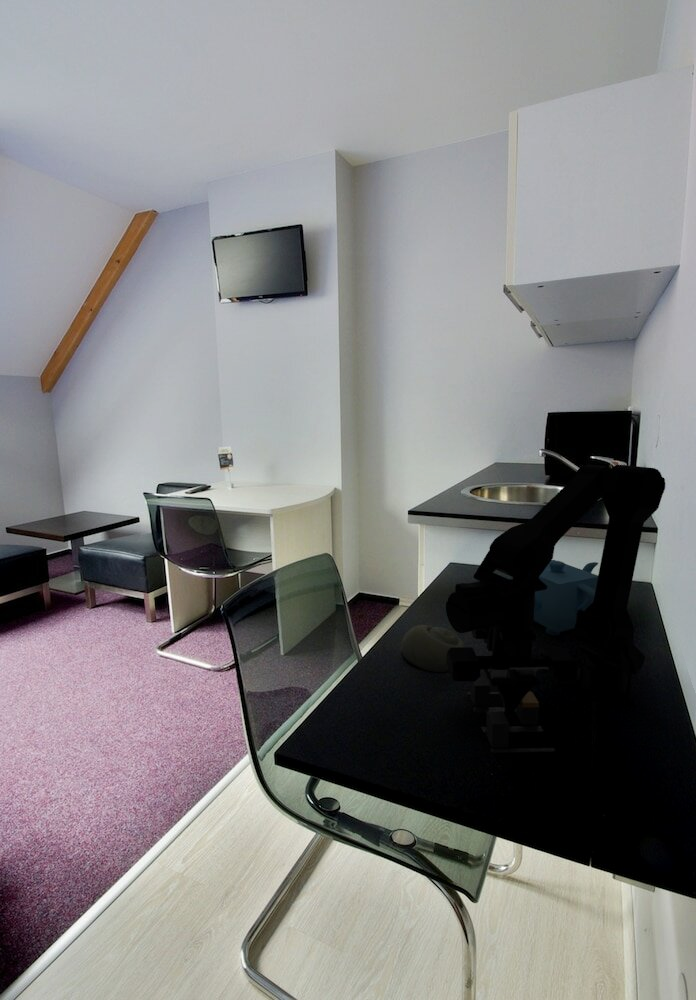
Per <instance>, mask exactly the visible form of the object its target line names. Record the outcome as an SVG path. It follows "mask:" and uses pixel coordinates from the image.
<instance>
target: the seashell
mask: <svg viewBox="0 0 696 1000" xmlns="http://www.w3.org/2000/svg"><path fill="white" fill-rule="evenodd" d="M400 644H401V645H400V648H401V654H402V656H403V657H404V658H405V660H406V661H408V662H409V663H410V664H412V665H413V666H415V667H417V668H419V669H422V670H425V671H429V672H433V673H447V672H450V671H449V668H448V666H447V663H446V658H447V651H448V650H449V649H450V648H451V647H465V645H464V643H463V640H461V639H460V637H459V636H458V635H457V634H456V633H454V631H450V630H449V629H446V628H444V627H440V626H435V627H433V626H431V625H428V624H419V625H415V626H413V627H412V628H411V629H409V630H408V631H407V632H406V633H405V634H404V637H403V638H402V640H401V643H400Z"/></svg>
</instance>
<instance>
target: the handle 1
mask: <svg viewBox="0 0 696 1000" xmlns="http://www.w3.org/2000/svg"><path fill="white" fill-rule="evenodd" d="M469 683H470V684H469V685H470V686H469V690H470V691H469V692H470V695H469V697H470V699H471V702H472V704H473V708H475V707H490V696H491V695H490V692H491V690H490V689H491V686H490V682H489V680H488V678H487V677H486V675H480V677H479V678H478V679H477V680H476V681H469Z"/></svg>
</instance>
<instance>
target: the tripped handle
mask: <svg viewBox="0 0 696 1000" xmlns="http://www.w3.org/2000/svg"><path fill="white" fill-rule="evenodd" d="M539 712H540V702H539V700H538V699H537V698H536V696H535V694H534V692H533V691H529V692H528V693H527V694H526V695H525V696H524V698H523V699H522V700H521V702H520V703H519V705H518V706H517V708H516V712H515V715H516V717H517V718H518V720H519V722H520V724H521V726H539V715H540V714H539Z"/></svg>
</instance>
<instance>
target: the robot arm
mask: <svg viewBox="0 0 696 1000" xmlns="http://www.w3.org/2000/svg"><path fill="white" fill-rule="evenodd" d="M665 490H666V478H665V477H664V476H663V475H662V473H661V471H660V470H659V469H657V468H655V467H646V466H638V465H636V466H635V465H626V464H616V465H614V466H612V467H610V466H605V465H596V464H595V465H594V464H585V465H582V466H580V467H579V468H578V469H577V470H576V473H575V476H573V478H572V479H571V480H570V481H569V482H568V483H567V484H565V485H564V487H562V488H561V489H560V490H559V491H558V492H557V493H556V494H555V495H554V496H553V497H552V498H551V499H550V500H549V501H548V502H547V503H546V504H545V505H544V506H543V507H541V509H539V510H538V512H537V513H536V514H535V515H534V516H533V517H531V518H530V519H529V520H527V521H526V522H523V523H520V524H517V525H514V526H512V527H509V528H508V529H507V530H505V531H504V532H502V533H501V534H500V535H498V536H497V537H495V538H494V540H493V541H492V542H490V543H491V544H490V545H489V550H488V552H487V553H486V554H485V556H484V558H483V560H482V561H481V563H480V564H479V566H478V568H477V569H476V571H475V573H474V575H473V579H474V580H476V581H474V582H468V583H467V582H462V583H456V584H455V590H454V592H451V594H450V595H449V596H448V598H447V601H446V602H445V612H446V617H447V620H448V622H449V624H450V626H451V628H452V629H454V631H455V632H456V633H460V634H465V633H469V632H471V635H472V638H474V639H476V640H483V644H486V649H487V650H488V652H491V655H476V652H475V650H474V649H473V647H472V646H471V647H468V646H467V647H465V646H464V647H451V648H450V649H449V650H448V651H447V658H446V663H447V666H448V668H449V671H448V672H449V673H450V675H451V679H452V680H453V681H454V682H458V683H459V682H460V683H461V682H470V681H476V680H477V679H478V678H479V677H480V676H481V670H483V671H484V672H485V676H487V677H486V678H487V680H488V682H489V684H491V686H494V687H497V689H498V692H499V693H500V695H499V697H500V698H501V699H500V700H501V702H502V705H503V706H502V707H504V709H505V712H504V713H505V714H506V717H507V716H513V714H514V713H515V712H514V711H515V709H516V708H517V706H518V705H519V703H520V702H521V700H522V699H523V698H524V696H525V695H526V694H527V693H528V692H531V690H532V689H533V688H534V687H538V686H539V685H540V680H539V679H538V677H537V673H538V670H552V675H553V677H555V678H556V679H557V680H558V681H559V682H577V681H579V680H580V671H581V668H580V664H579V662H578V661H577V660H576V659H575V658H574V657H573V655H571V654H570V652H569V651H568V650H567V649H566V647H564V646H541V647H540V648H539V650H538V651H539V652H538V655H532V651H533V642H534V641H536V640H537V639H536V638H537V637H536V636H537V635H536V633H535V631H534V623H533V621H534V605H535V592H536V591H541V590H546V589H547V585H546V584H544V583H543V582H542V581H541V580H540V579H539V576H540V575H541V574H542V572H543V571H544V570H545V568H546V567H547V566H548V564H549V563H550V561H551V560H554V554H555V546H556V545H557V543H558V542H559V541H560V540H561V538H563V536H564V535H565V534H567V533H568V531H570V530H571V529H572V528H573V526H575V524H577V522H578V521H579V520H581V518H582V517H583V516H585V515H586V513H587V512H588V511H590V509H592V507H593V506H594V505H595V504H597V502H598V501H599V500H601V501H602V504H603V506H604V508H605V510H606V513H607V515H608V522H607V528H606V534H605V539H604V544H603V549H602V555H601V559H600V565H599V569H598V580H597V585H596V590H595V596H594V600H593V602H592V603H591V604H590V605H589V606H588V607H587V608H586V609H585V610H581V609H580V610H579V611H578V612H577V619H576V624H575V627H574V629H572V632H574V640H575V642H577V646H578V649H579V653H580V654H582V655H585V656H587V658H586V665H584V666H583V676H582V685H583V686H584V687H585V689H586V690H587V691H588V692H589V693H594V694H600V695H603V696H607V697H610V698H611V697H612V698H616V699H618V700H619V702H621V703H622V704H623V705H634V704H636V703H637V701H636V699H635V698H634V697H633V695H631V691H632V690H631V689H632V681H633V680H632V679H633V675H638V671H639V670H640V671H641V670H642V669H643V666H644V663H645V659H646V656H645V655H644V654H643V653H642V652H641V651H640V649H639V648H638V647H637V646H636V644H634V635H635V627H634V624H633V622H632V619H631V616H630V614H629V611H628V605H629V599H630V594H631V589H632V584H633V579H634V573H635V569H636V565H637V558H638V554H639V553H638V552H639V548H640V543H641V538H642V534H643V530H644V529H643V528H644V524H645V522H646V521H648V519H650V517H652V516H653V515H654V514H655V513H656V512H657V510H659V507H660V504H661V500H662V497H663V494H664V492H665ZM495 571H498V572H501V573H502V574H505V575H507V576H509V577H513V578H510V579H509V578H507V577H504V576H502V575H500V574H497V573H495Z"/></svg>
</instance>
